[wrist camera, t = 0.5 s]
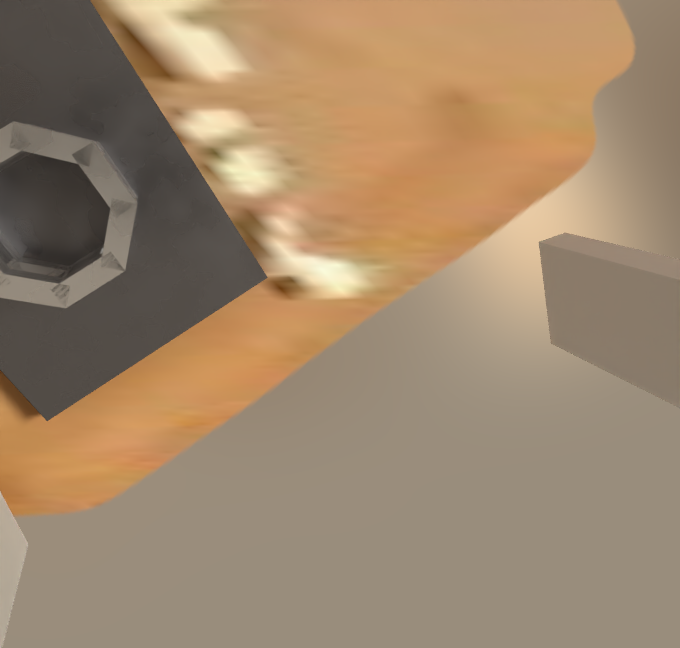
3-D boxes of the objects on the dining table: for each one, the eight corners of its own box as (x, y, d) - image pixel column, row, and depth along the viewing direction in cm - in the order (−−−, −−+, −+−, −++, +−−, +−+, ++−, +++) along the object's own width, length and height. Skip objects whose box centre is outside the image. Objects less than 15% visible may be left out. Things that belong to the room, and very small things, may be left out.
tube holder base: (-212, 120, 31) (-295, 115, 25) (65, -35, 33) (49, -75, 27) (50, 411, 39) (33, 459, 33) (263, 273, 40) (284, 295, 35)
